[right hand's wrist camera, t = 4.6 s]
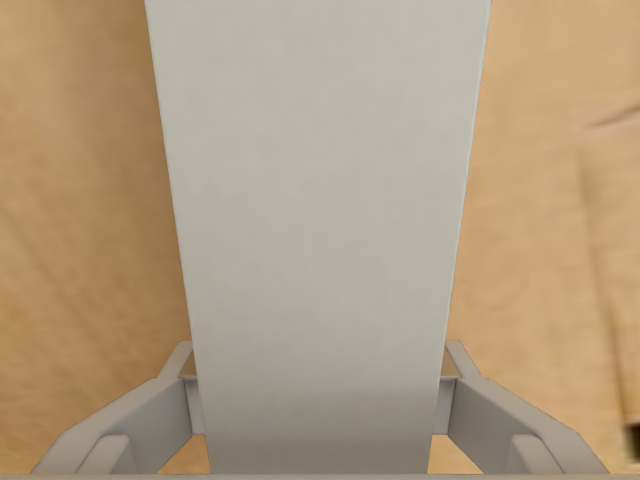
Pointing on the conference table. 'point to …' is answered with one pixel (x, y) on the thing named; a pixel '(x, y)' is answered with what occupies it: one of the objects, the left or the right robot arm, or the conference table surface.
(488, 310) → the conference table surface
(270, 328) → the beam
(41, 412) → the conference table surface
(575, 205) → the conference table surface
